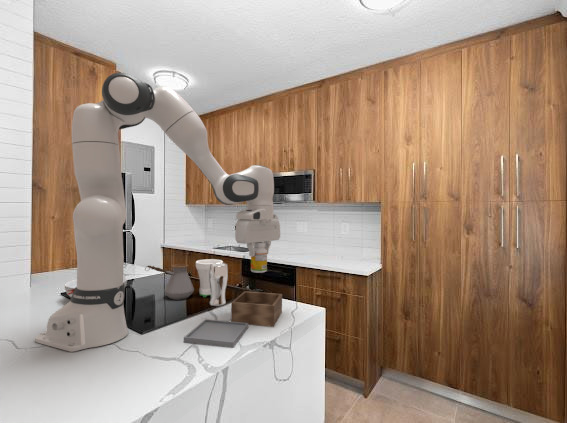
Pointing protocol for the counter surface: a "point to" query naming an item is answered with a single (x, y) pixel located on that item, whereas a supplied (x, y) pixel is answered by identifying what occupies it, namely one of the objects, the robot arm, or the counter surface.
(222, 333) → the grey tray
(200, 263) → the cup
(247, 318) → the walnut box
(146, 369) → the counter surface
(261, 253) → the supplement bottle
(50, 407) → the counter surface
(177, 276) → the coffee pot
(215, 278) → the beer glass
